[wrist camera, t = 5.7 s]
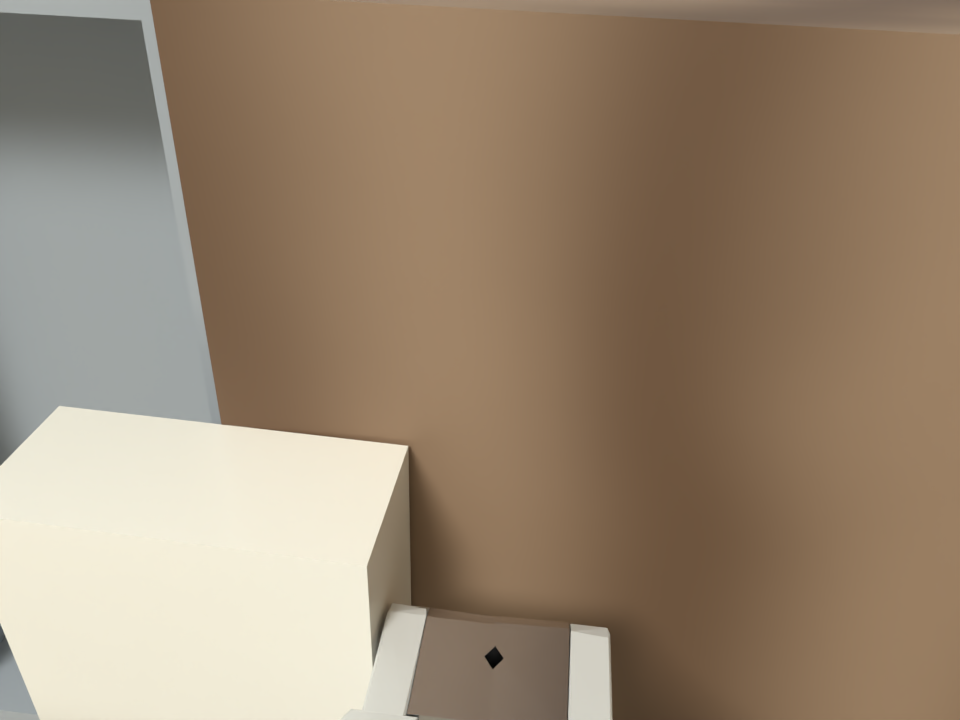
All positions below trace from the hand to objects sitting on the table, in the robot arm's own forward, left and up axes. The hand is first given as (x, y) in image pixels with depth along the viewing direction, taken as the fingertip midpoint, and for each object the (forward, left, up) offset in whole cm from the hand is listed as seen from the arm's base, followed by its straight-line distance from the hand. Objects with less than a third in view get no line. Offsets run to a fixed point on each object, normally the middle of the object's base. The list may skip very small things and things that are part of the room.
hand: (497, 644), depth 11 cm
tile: (+4, 0, -1) cm, 4 cm away
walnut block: (-3, 0, -6) cm, 7 cm away
